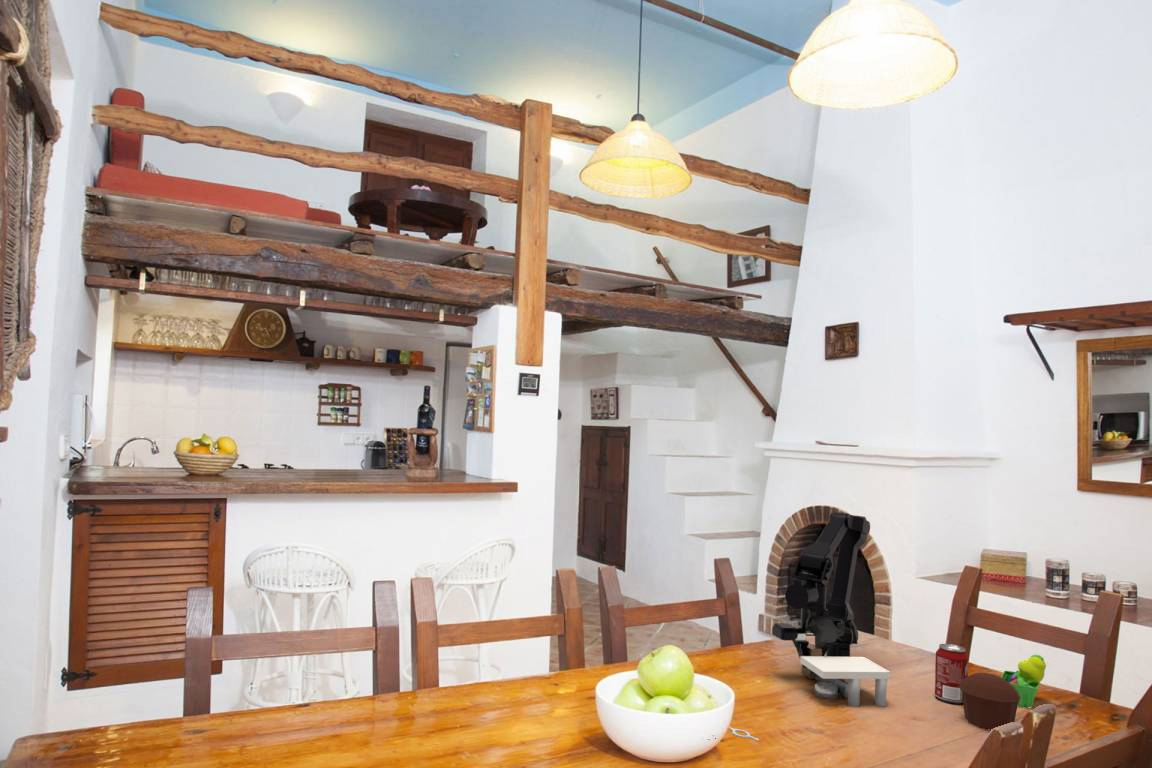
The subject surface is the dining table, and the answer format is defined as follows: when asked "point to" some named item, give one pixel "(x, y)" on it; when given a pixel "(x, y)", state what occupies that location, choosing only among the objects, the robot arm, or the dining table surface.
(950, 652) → the soda can
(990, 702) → the muffin
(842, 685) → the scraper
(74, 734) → the dining table surface
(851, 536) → the robot arm
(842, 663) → the low stand
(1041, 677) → the green toy figure
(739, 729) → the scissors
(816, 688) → the token
